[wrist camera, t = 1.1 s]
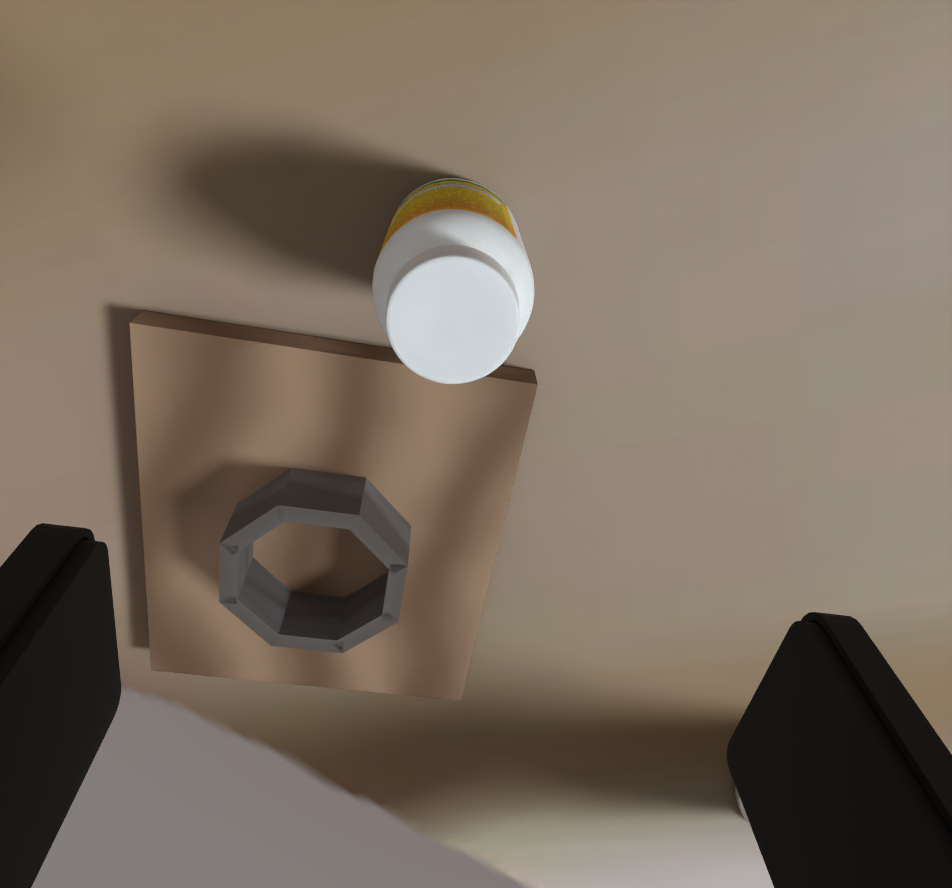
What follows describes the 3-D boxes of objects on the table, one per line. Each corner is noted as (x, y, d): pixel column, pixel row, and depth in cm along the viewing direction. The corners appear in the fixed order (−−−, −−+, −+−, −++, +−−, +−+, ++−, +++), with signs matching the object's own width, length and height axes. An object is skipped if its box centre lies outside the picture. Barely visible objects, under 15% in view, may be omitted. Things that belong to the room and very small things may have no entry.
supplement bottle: (540, 269, 30) (574, 359, 22) (429, 327, 31) (421, 434, 23) (480, 147, 28) (492, 196, 19) (362, 216, 29) (326, 289, 20)
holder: (533, 370, 32) (545, 416, 28) (460, 680, 42) (461, 746, 38) (143, 310, 30) (97, 351, 26) (160, 649, 40) (129, 716, 36)
